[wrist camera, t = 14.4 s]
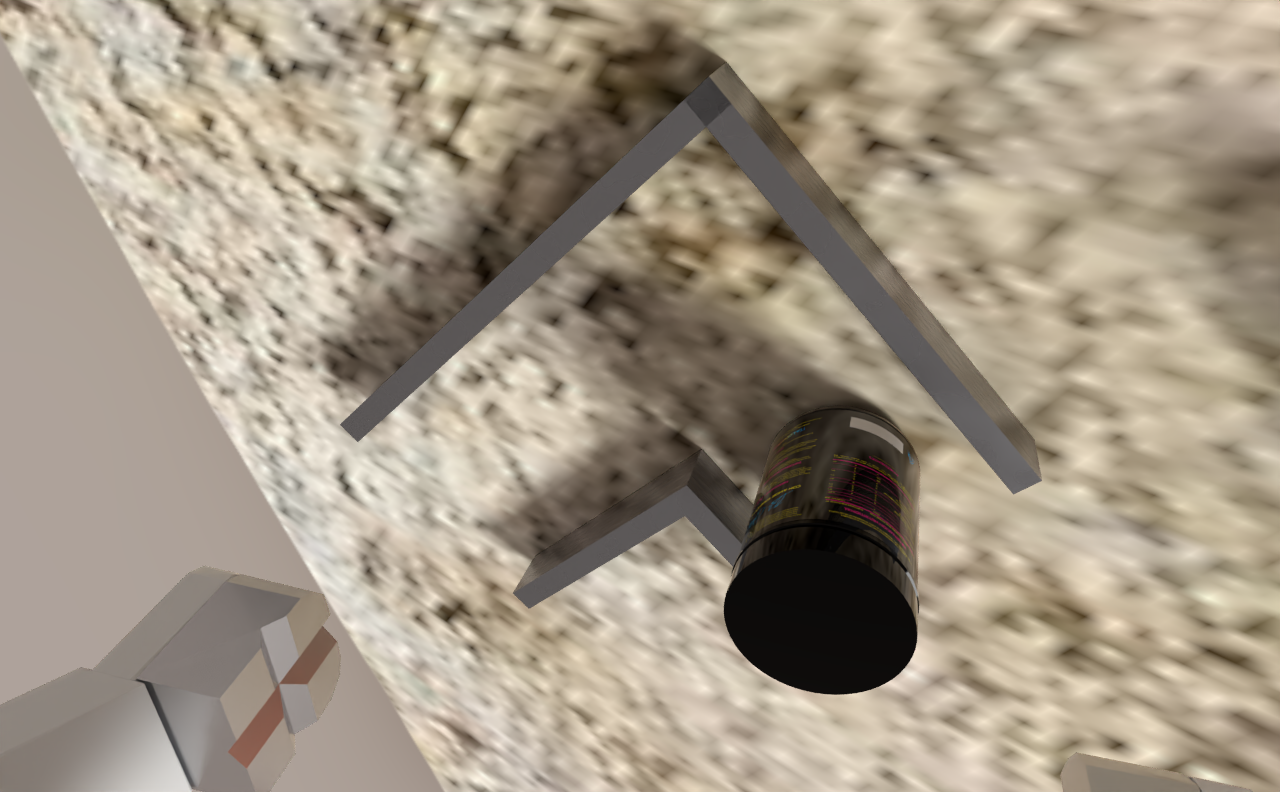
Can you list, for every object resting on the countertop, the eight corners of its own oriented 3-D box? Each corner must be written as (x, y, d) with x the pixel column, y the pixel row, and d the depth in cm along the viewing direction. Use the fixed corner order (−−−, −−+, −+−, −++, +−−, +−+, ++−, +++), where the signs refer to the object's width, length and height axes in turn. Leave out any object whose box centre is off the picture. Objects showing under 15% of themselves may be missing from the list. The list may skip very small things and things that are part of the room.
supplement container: (748, 489, 41) (699, 647, 33) (799, 375, 38) (759, 519, 29) (882, 545, 41) (869, 721, 32) (949, 434, 37) (953, 599, 28)
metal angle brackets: (372, 395, 45) (340, 424, 43) (726, 61, 32) (708, 76, 30) (627, 647, 49) (610, 688, 47) (1034, 439, 36) (1041, 480, 34)
